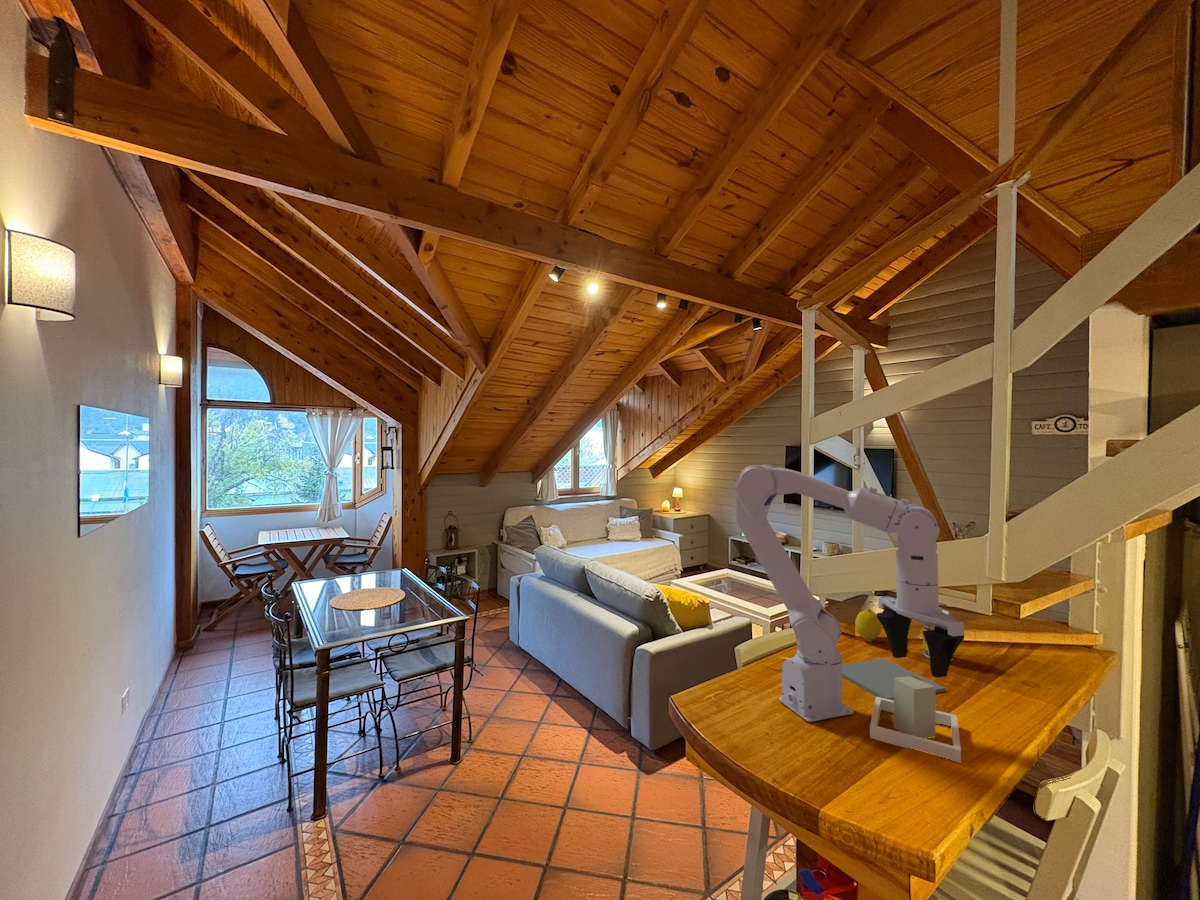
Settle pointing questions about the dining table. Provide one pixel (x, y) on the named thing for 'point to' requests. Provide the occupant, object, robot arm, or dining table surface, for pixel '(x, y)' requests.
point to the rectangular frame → (914, 741)
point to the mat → (879, 676)
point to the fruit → (868, 625)
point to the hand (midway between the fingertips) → (918, 666)
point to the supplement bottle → (925, 646)
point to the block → (914, 706)
